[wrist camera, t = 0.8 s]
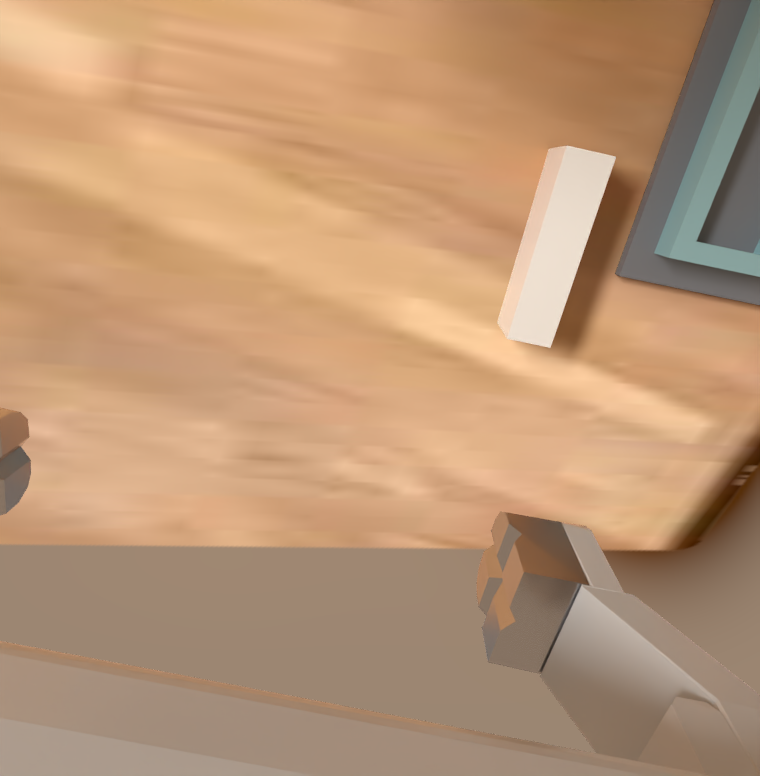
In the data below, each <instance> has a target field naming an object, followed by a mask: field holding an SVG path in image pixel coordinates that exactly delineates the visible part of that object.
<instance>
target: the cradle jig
mask: <svg viewBox="0 0 760 776" xmlns="http://www.w3.org/2000/svg"><path fill="white" fill-rule="evenodd" d="M615 274H616V275H618V276H622V277H627V278H631V279H636V280H641V281H646V282H651V283H655V284H660V285H665V286H670V287H675V288H679V289H684V290H689V291H694V292H698V293H703V294H708V295H713V296H718V297H722V298H727V299H732V300H737V301H742V302H746V303H751V304H756V305H760V0H714V3H713V5H712V8H711V11H710V14H709V16H708V19H707V22H706V25H705V27H704V30H703V33H702V36H701V38H700V41H699V44H698V47H697V49H696V52H695V55H694V58H693V60H692V63H691V66H690V69H689V71H688V74H687V77H686V80H685V83H684V85H683V88H682V91H681V94H680V96H679V99H678V102H677V105H676V107H675V110H674V113H673V116H672V118H671V121H670V124H669V127H668V129H667V132H666V135H665V138H664V140H663V143H662V146H661V149H660V151H659V154H658V157H657V160H656V162H655V165H654V168H653V171H652V173H651V176H650V179H649V182H648V184H647V187H646V190H645V193H644V195H643V198H642V201H641V204H640V206H639V209H638V212H637V215H636V217H635V220H634V223H633V226H632V228H631V231H630V234H629V237H628V239H627V242H626V245H625V248H624V251H623V253H622V256H621V259H620V262H619V264H618V267H617V270H616V273H615Z"/></svg>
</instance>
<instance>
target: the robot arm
mask: <svg viewBox="0 0 760 776" xmlns="http://www.w3.org/2000/svg"><path fill="white" fill-rule="evenodd" d="M28 438H29V428H28V419H27V418H26V417H25V416H24V415H23V414H22V413H21V412H17V411H13V410H8V409H4V408H0V515H3V514H6V513H7V512H8V511H9V510H11V509H12V508H13V507H14V506H15V505H16V504H17V503H18V502H19V501H20V499H21V497H22V496H23V494H24V492H25V491H26V489H27V487H28V484H29V479H30V475H31V460H30V459H29V457H28V456H27V455H26V453H25V452H24V450H23V449H22V448H21V446H22V445H23V443H24V442H25V441H26V440H27V439H28ZM491 532H492V537H493V541H494V545H492V546H491V547H490V548H488V549H487V550H485V551H484V553H483V556H482V559H481V562H480V565H479V570H478V577H477V600H478V607H479V608H480V609H481V610H482V611H483V612H484V614H485V615H486V619H485V621H484V624H483V627H482V630H483V636H484V642H485V647H486V653H487V658H488V662H489V663H494V664H499V665H503V666H507V667H512V668H516V669H521V670H525V671H530V672H535V673H539V674H541V675H540V677H541V678H542V680H543V681H544V683H545V684H546V685H547V687H548V688H549V689H550V691H551V692H552V693H553V695H554V696H555V697H556V699H557V700H558V701H559V703H560V704H561V706H562V707H563V708H564V710H565V711H566V712H567V714H568V715H569V717H570V718H571V719H572V721H573V722H574V723H575V725H576V726H577V727H578V728H579V730H580V731H581V733H582V734H583V736H584V737H585V738H586V740H587V741H588V742H589V744H590V745H591V746H592V748H593V749H594V750H595V752H596V753H592V752H587V751H581V750H576V749H571V748H566V747H560V746H555V745H549V744H544V743H539V742H533V741H528V740H522V739H517V738H511V737H506V736H501V735H495V734H489V733H484V732H479V731H474V730H468V729H463V728H457V727H453V726H447V725H442V724H436V723H432V722H426V721H421V720H416V719H411V718H405V717H400V716H395V715H390V714H384V713H379V712H374V711H369V710H364V709H358V708H353V707H348V706H343V705H337V704H332V703H326V702H322V701H316V700H311V699H306V698H300V697H295V696H290V695H285V694H280V693H274V692H269V691H264V690H259V689H253V688H248V687H243V686H237V685H233V684H227V683H222V682H217V681H211V680H206V679H200V678H195V677H189V676H184V675H179V674H174V673H168V672H163V671H158V670H153V669H147V668H142V667H137V666H131V665H126V664H120V663H115V662H110V661H104V660H99V659H93V658H88V657H83V656H78V655H73V654H67V653H62V652H57V651H51V650H46V649H41V648H35V647H30V646H24V645H19V644H14V643H8V642H3V641H0V776H760V695H759V694H758V693H757V692H755V691H754V690H753V689H752V688H750V687H749V686H748V685H747V684H745V683H744V682H743V681H742V680H740V679H739V678H738V677H737V676H735V675H734V674H733V673H732V672H730V671H729V670H728V669H726V668H725V667H724V666H722V665H721V664H720V663H719V662H718V661H716V660H715V659H714V658H712V657H711V656H710V655H709V654H708V653H706V652H705V651H704V650H703V649H701V648H700V647H699V646H698V645H696V644H695V643H693V642H692V641H691V640H690V639H689V638H687V637H686V636H685V635H684V634H682V633H681V632H680V631H678V630H677V629H676V628H675V627H673V626H672V625H671V624H670V623H668V622H667V621H666V620H665V619H663V618H662V617H661V616H659V615H658V614H657V613H656V612H655V611H653V610H652V609H651V608H649V607H648V606H647V605H646V604H644V603H643V602H642V601H641V600H639V599H638V598H637V597H636V596H634V595H632V594H627V593H624V591H623V590H622V588H621V586H620V584H619V582H618V580H617V578H616V576H615V575H614V573H613V571H612V569H611V567H610V565H609V563H608V561H607V559H606V558H605V556H604V554H603V552H602V550H601V548H600V546H599V544H598V542H597V541H596V539H595V537H594V535H593V533H592V531H591V530H590V529H589V528H587V527H586V526H582V525H576V524H570V523H564V522H558V521H551V520H546V519H540V518H534V517H529V516H523V515H518V514H512V513H506V512H500V513H499V514H498V516H497V517H496V519H495V522H494V524H493V527H492V530H491Z"/></svg>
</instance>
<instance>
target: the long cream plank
mask: <svg viewBox="0 0 760 776" xmlns="http://www.w3.org/2000/svg"><path fill="white" fill-rule="evenodd" d="M615 159H616V157H615V156H611V155H607V154H602V153H598V152H593V151H589V150H584V149H580V148H576V147H571V146H561V147H556V148H551V149H549V150H548V154H547V157H546V160H545V164H544V167H543V171H542V174H541V177H540V181H539V184H538V187H537V191H536V194H535V197H534V201H533V204H532V207H531V211H530V214H529V218H528V221H527V224H526V228H525V231H524V234H523V238H522V241H521V244H520V248H519V251H518V254H517V258H516V261H515V264H514V268H513V271H512V275H511V278H510V281H509V285H508V288H507V291H506V295H505V298H504V301H503V305H502V308H501V311H500V315H499V318H498V322H497V323H498V325H499V327H500V328H501V330H502V331H503V333H504V335H505V336H506V338H507V339H511V340H516V341H520V342H525V343H530V344H534V345H539V346H544V347H549V348H551V345H552V342H553V339H554V336H555V333H556V330H557V327H558V325H559V322H560V319H561V316H562V313H563V310H564V307H565V304H566V301H567V298H568V295H569V293H570V290H571V287H572V284H573V281H574V278H575V275H576V272H577V269H578V266H579V263H580V261H581V258H582V255H583V252H584V249H585V246H586V243H587V240H588V237H589V234H590V231H591V229H592V226H593V223H594V220H595V217H596V214H597V211H598V208H599V205H600V202H601V199H602V197H603V194H604V191H605V188H606V185H607V182H608V179H609V176H610V173H611V170H612V167H613V165H614V162H615Z"/></svg>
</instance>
